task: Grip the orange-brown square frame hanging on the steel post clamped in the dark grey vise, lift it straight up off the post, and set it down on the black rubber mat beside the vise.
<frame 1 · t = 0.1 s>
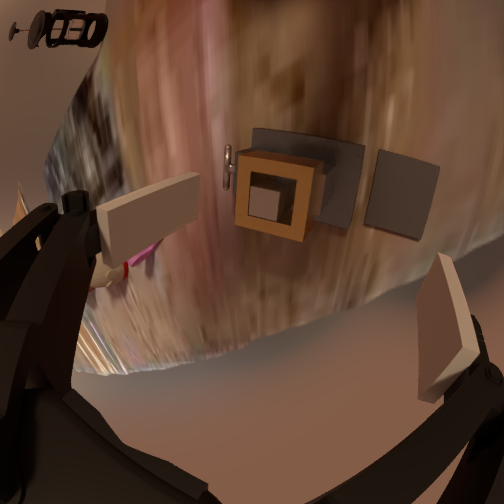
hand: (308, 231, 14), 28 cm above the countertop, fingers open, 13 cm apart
vise: (305, 174, 41), on the countertop
orange-brown square frame: (286, 187, 33), point 9 cm above the countertop, touching vise
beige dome: (112, 256, 71), on the countertop
french press: (96, 29, 43), on the countertop
bracket: (152, 229, 60), on the countertop
rubber mat: (402, 194, 36), on the countertop
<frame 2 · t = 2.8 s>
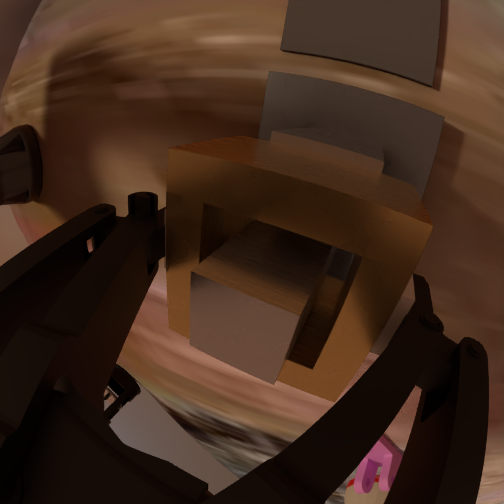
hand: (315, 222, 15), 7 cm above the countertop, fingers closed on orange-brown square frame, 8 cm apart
vise: (335, 193, 21), on the countertop
orange-brown square frame: (304, 237, 13), point 9 cm above the countertop, touching gripper, vise
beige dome: (381, 485, 37), on the countertop
french press: (124, 377, 56), on the countertop
bracket: (370, 441, 32), on the countertop
rubber mat: (363, 12, 13), on the countertop
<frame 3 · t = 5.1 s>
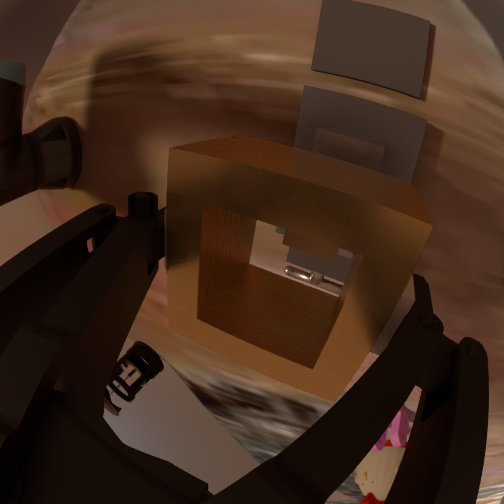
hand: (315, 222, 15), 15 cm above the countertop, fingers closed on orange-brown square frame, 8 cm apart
vise: (349, 175, 27), on the countertop
orange-brown square frame: (304, 237, 13), point 17 cm above the countertop, touching gripper
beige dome: (389, 453, 44), on the countertop
french press: (147, 355, 63), on the countertop
bracket: (380, 400, 39), on the countertop
rubber mat: (372, 42, 20), on the countertop
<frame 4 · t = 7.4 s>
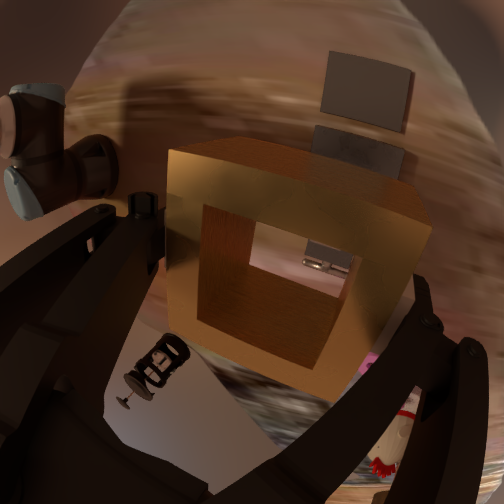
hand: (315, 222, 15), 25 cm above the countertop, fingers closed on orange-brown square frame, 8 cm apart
vise: (348, 190, 38), on the countertop
wooden container: (391, 494, 71), on the countertop
orange-brown square frame: (304, 238, 13), point 28 cm above the countertop, touching gripper
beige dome: (392, 423, 53), on the countertop
french press: (175, 346, 73), on the countertop
bracket: (380, 371, 49), on the countertop
rubber mat: (365, 89, 31), on the countertop
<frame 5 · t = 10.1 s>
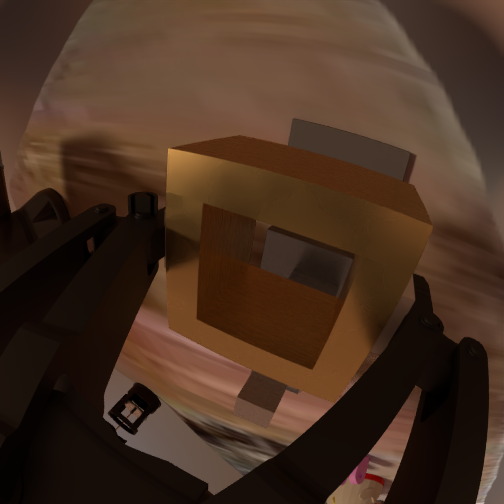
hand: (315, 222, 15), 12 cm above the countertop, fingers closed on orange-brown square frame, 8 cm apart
vise: (309, 301, 32), on the countertop
orange-brown square frame: (304, 238, 13), point 15 cm above the countertop, touching gripper
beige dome: (357, 480, 49), on the countertop
french press: (146, 393, 68), on the countertop
bracket: (343, 446, 44), on the countertop
lighter: (374, 502, 53), on the countertop
rubber mat: (341, 178, 25), on the countertop
when the fingers open (2 cm above the countertop, at t = 12.2 s): orange-brown square frame drops 3 cm, resting on rubber mat.
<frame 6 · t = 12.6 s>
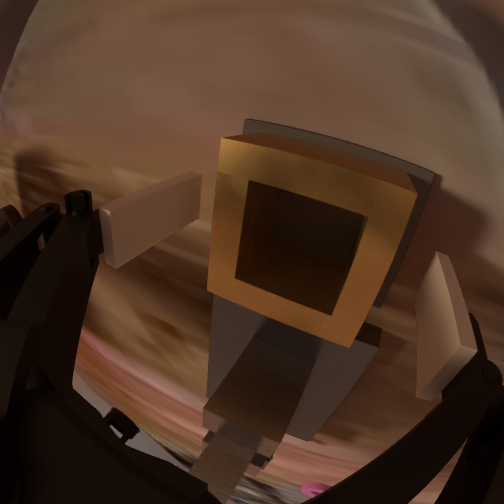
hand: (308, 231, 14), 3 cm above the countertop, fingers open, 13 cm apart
vise: (279, 367, 24), on the countertop
orange-brown square frame: (319, 215, 16), point 1 cm above the countertop, touching rubber mat
french press: (125, 418, 59), on the countertop
bracket: (329, 492, 35), on the countertop
rubber mat: (321, 212, 17), on the countertop
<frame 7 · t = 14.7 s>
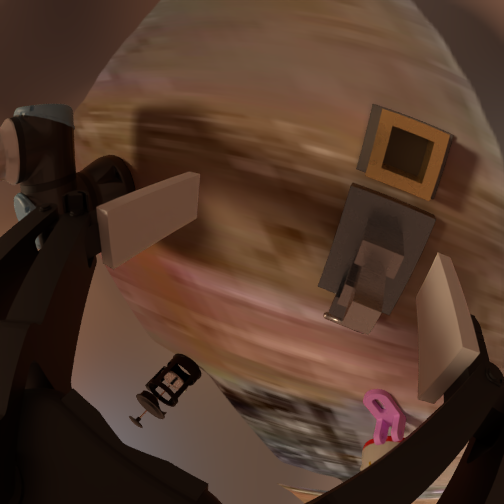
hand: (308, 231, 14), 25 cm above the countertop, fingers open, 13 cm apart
vise: (375, 250, 38), on the countertop
orange-brown square frame: (405, 151, 30), point 1 cm above the countertop, touching rubber mat
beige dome: (389, 447, 54), on the countertop
french press: (186, 365, 74), on the countertop
bracket: (384, 405, 49), on the countertop
rubber mat: (405, 150, 31), on the countertop
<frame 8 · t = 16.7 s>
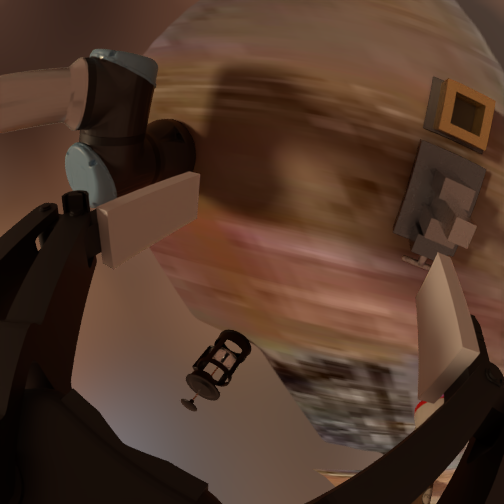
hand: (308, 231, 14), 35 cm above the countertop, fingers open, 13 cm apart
vise: (439, 198, 39), on the countertop
wooden container: (417, 482, 73), on the countertop
orange-brown square frame: (459, 114, 31), point 1 cm above the countertop, touching rubber mat
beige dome: (438, 407, 55), on the countertop
french press: (234, 342, 74), on the countertop
rubber mat: (459, 114, 31), on the countertop
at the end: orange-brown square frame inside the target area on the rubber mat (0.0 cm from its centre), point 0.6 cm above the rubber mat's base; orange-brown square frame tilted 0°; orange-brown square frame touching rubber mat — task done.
